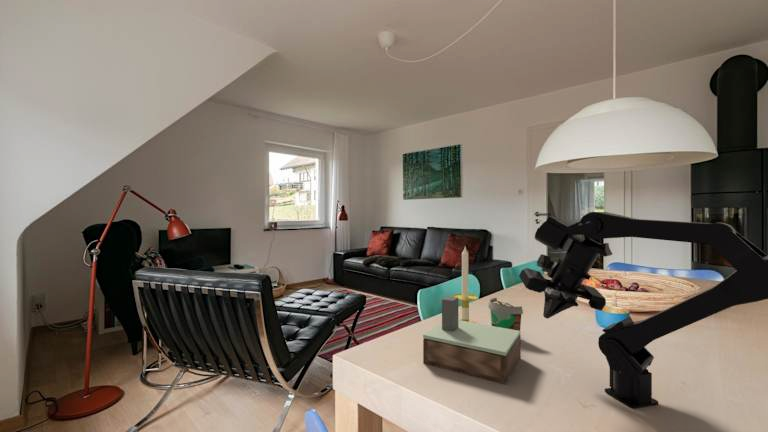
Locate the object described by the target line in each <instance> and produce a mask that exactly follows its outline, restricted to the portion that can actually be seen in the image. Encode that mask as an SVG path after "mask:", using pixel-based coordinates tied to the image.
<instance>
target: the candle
mask: <svg viewBox="0 0 768 432" xmlns="http://www.w3.org/2000/svg"><path fill="white" fill-rule="evenodd" d="M451 297H458V301H460V302H461V303H460V308H461V310H460V311H461V313H460V315H461V316H460V317H461V319H460V320H461V321H467V322H472V323H476V322H475V321H470V302H473V301H477V300H478V299H479V296H477V295H475V294H469V251H468V250H467V247H466V246H464V249H463V251H462V252H461V293H455V294H453V295H452V296H451Z"/></svg>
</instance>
